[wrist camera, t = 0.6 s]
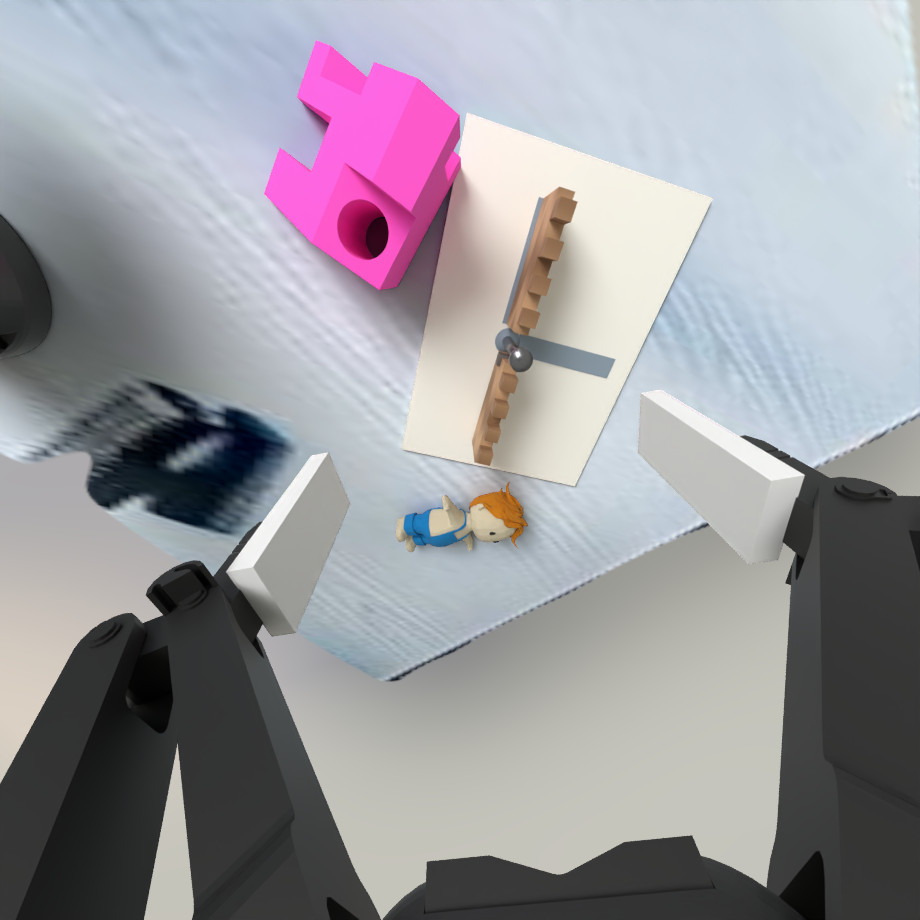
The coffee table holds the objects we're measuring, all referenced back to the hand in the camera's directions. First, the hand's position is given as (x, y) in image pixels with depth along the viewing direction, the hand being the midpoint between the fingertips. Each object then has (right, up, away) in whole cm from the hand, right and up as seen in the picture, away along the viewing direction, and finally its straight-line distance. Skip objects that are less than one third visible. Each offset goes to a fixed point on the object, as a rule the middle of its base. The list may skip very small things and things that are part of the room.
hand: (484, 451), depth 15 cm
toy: (-1, -7, +30) cm, 31 cm away
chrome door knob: (+4, +11, +20) cm, 23 cm away
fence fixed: (+5, +17, +17) cm, 24 cm away
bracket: (-9, +22, +14) cm, 27 cm away
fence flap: (+2, +6, +22) cm, 23 cm away
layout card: (+6, +11, +20) cm, 24 cm away
